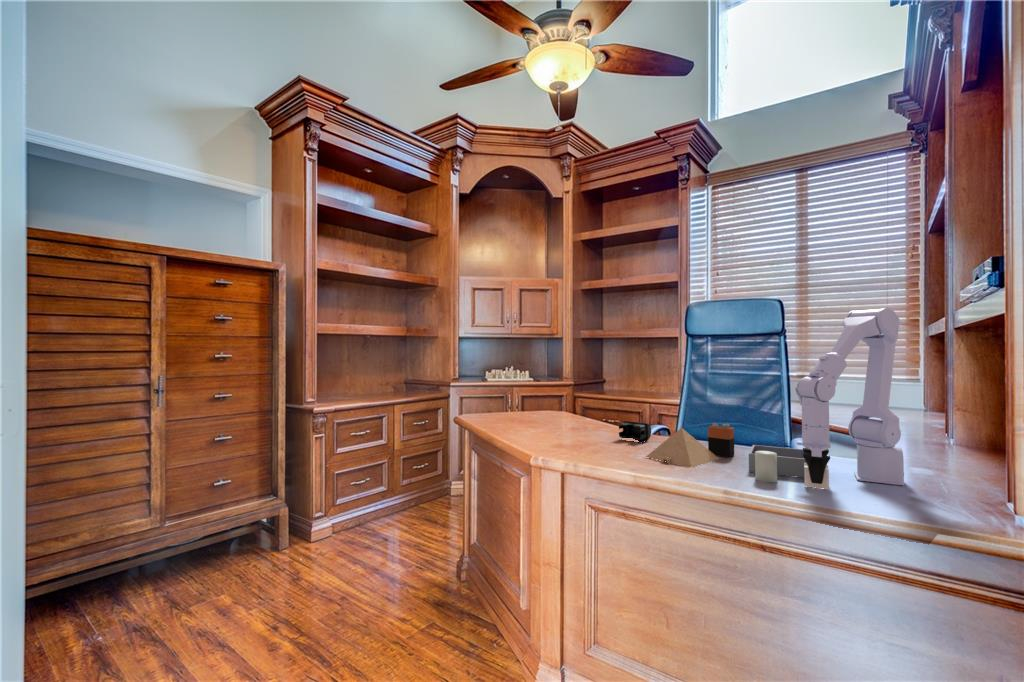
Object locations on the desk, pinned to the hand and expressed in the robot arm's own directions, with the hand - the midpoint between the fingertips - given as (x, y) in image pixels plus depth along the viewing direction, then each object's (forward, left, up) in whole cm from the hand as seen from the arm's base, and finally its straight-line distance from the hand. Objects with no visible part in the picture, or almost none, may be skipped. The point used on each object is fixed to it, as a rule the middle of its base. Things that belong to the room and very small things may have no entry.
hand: (816, 480), depth 117 cm
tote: (+7, -13, -1) cm, 15 cm away
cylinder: (+11, 0, -1) cm, 11 cm away
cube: (0, 0, -2) cm, 2 cm away
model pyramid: (+35, -13, -2) cm, 37 cm away
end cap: (+56, -34, -2) cm, 66 cm away
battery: (+25, -24, -2) cm, 35 cm away
